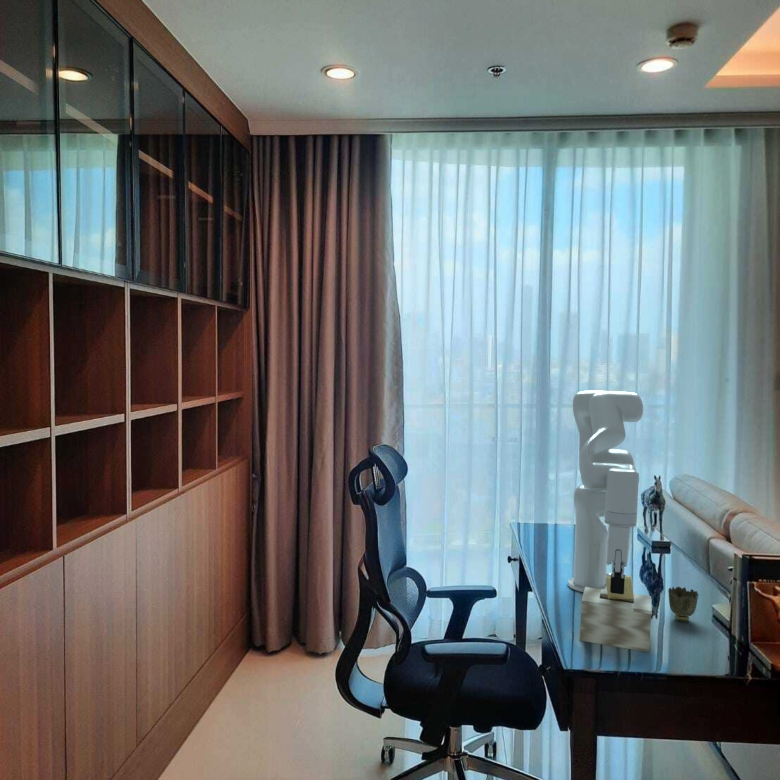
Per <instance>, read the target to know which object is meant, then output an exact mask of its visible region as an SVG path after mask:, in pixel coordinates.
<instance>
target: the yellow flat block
mask: <svg viewBox="0 0 780 780" xmlns="http://www.w3.org/2000/svg"><path fill="white" fill-rule="evenodd" d="M632 577H633V576H632V575H625V576H624V578H625V581H624V594H616V593H611V592H610V585H611V576H606V585H607V594H608V599H634V594H635V593H634V587H633V585H634V584H633V578H632Z"/></svg>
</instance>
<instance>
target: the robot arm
mask: <svg viewBox="0 0 780 780" xmlns="http://www.w3.org/2000/svg"><path fill="white" fill-rule="evenodd" d="M643 405H644V404H643V400H642V398H641V397H640V396H639V393H636V392H629V391H613V390H612V391H611V390H593V389H591V390H582V391H578V392H577V393H575V394H574V396H573V399H572V412H573V416H574V420H575V423H576V426H577V429H578V437H579V438H578V439H579V445H578V446H579V447H578V451H579V453H578V455H579V456H578V467H579V473H580V480H581V483H582V484H580V485H579V486H577V487H576V488H575V490H574V491H573V504H574V514H575V515H574V516H575V526H574V527H575V530H574V531H575V532H574V554H573V555H574V556H573V574H572V575H573V577H571V578H569V579H568V580H567V586H568V587H569V588H571V589H572V590H574V591H576V592H581V593H584V590H585V587H590V588H597V589H604V590H607V585H606V576H611V585H610V592H611V593H616V594H624V581H625V578H624V576H626V575H625V568H626V567H627V566H628V562H629V556H630V549H631V536H632V534H631V533H632V528H635V527H637V522H638V520H637V519H638V502H639V499H638V498H639V484H640V473H639V471H638V470H637V469H636V467H635V462H634V457H633V455H632V454H631V453H630V452H629V451H628V450H624V449H616V447H619V446H620V445H621V444H622V443H623V442H624V441H625V440H626V429H625V423H637V422H640V420H641V419H642V418H643V414H644V413H643V412H644V406H643ZM600 518H604V522H602V521H601V519H600ZM605 524H606V525H608V527H606V525H605ZM609 565H611V572H609V573H608V572H607V566H609Z"/></svg>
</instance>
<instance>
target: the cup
mask: <svg viewBox="0 0 780 780" xmlns="http://www.w3.org/2000/svg"><path fill="white" fill-rule="evenodd" d="M698 598H699V593H698V590H697V591H696V590H694V589H693V588H692V589H690V590H687V588H686V587H683V588H682V587H680V586H677V587H674V586H672V587H669V588H668V604H669V609H670V610H671V612H672V613H673V614H674V619H675V620H676V621H678V622H681V623H687V622H689V621H690V616H693V615H694V613H696V612H695V611H696V610H697V604H698Z"/></svg>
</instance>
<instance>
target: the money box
mask: <svg viewBox="0 0 780 780" xmlns="http://www.w3.org/2000/svg"><path fill="white" fill-rule="evenodd" d="M582 593H583V594H582V597H581V605H580V606H581V607H580V623H579V624H580V627H579V641H581V642H587V643H594V644H598V645H605V646H610V647H615V648H621V649H628V650H634V651H641V652H645V653H650V646H651V645H650V644H651V628H652V626H651V625H652V624H651V623H652V596H651V595H645V594H638V593H634V599H608V594H607V590H604V589H597V588H590V587H585V590H584V592H582Z"/></svg>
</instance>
